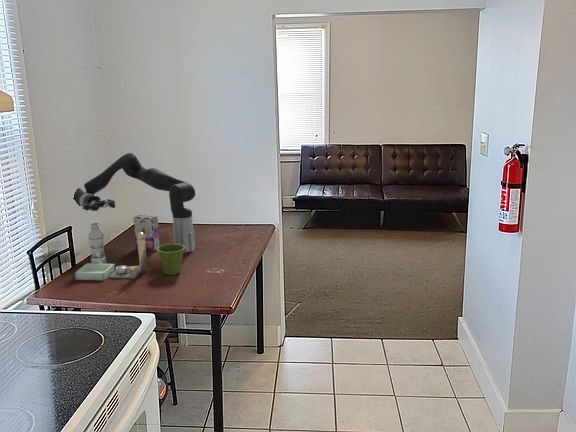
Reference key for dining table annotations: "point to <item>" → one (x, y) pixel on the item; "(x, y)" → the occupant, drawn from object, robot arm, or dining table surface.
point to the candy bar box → (147, 231)
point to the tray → (94, 271)
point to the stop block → (132, 270)
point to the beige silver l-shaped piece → (142, 257)
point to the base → (124, 275)
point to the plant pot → (171, 258)
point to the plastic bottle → (97, 245)
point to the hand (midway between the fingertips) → (105, 207)
